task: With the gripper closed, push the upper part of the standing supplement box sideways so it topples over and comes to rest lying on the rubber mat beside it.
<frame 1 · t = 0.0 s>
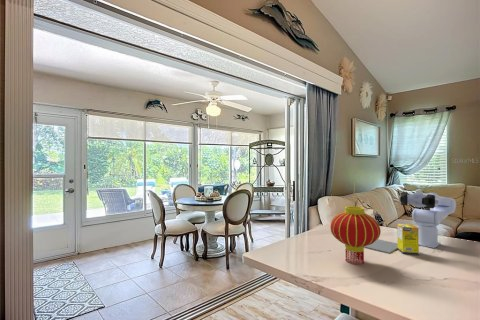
hand: (411, 200, 107), 22 cm above the counter, tool horizontal, fingers open, 7 cm apart
rubber mat: (378, 245, 118), on the counter
lantern: (354, 262, 99), on the counter
supplement box: (407, 252, 109), on the counter
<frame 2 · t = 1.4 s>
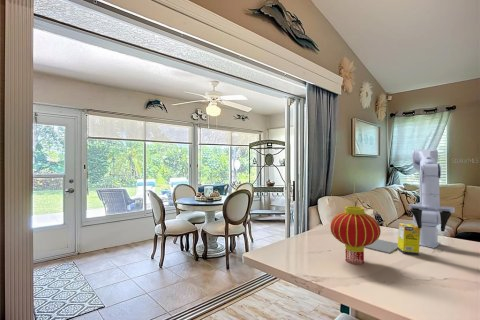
hand: (430, 229, 103), 11 cm above the counter, tool pointing down, fingers open, 7 cm apart
supplement box: (407, 252, 109), on the counter, touching gripper
everything else where it was.
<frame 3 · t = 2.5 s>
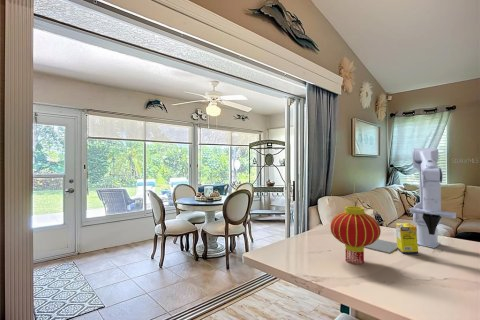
hand: (431, 234, 103), 9 cm above the counter, tool pointing down, fingers closed
supplement box: (407, 251, 109), on the counter
everything else where it was.
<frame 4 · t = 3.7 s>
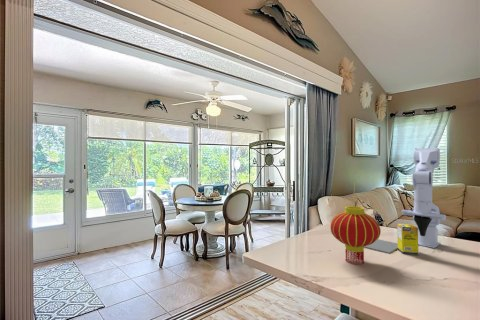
hand: (422, 235, 105), 8 cm above the counter, tool pointing down, fingers closed
supplement box: (407, 252, 109), on the counter, touching gripper
everything else where it was.
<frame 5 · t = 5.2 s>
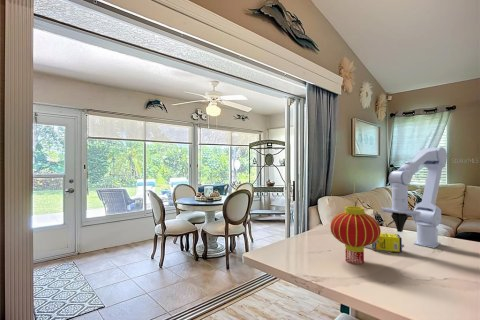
hand: (400, 231, 112), 8 cm above the counter, tool pointing down, fingers closed
supplement box: (401, 243, 110), point 4 cm above the counter, touching rubber mat
everything else where it was.
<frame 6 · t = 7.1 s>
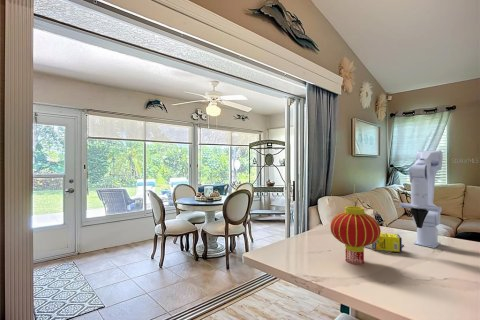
hand: (419, 227, 108), 10 cm above the counter, tool pointing down, fingers closed
nothing on the counter moved.
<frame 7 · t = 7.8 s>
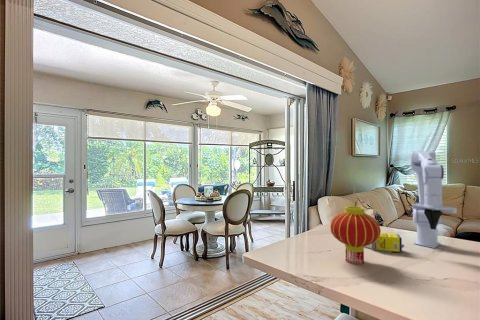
hand: (433, 228, 106), 10 cm above the counter, tool pointing down, fingers closed
nothing on the counter moved.
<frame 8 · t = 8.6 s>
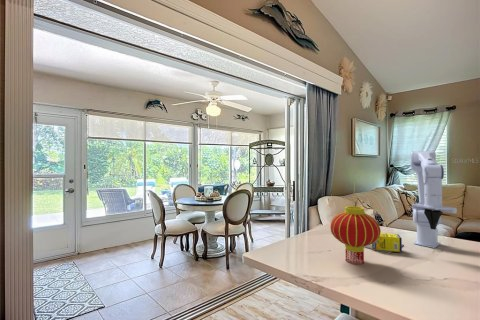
hand: (433, 228, 106), 10 cm above the counter, tool pointing down, fingers closed
nothing on the counter moved.
at the end: supplement box tilted 90°; supplement box touching rubber mat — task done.
